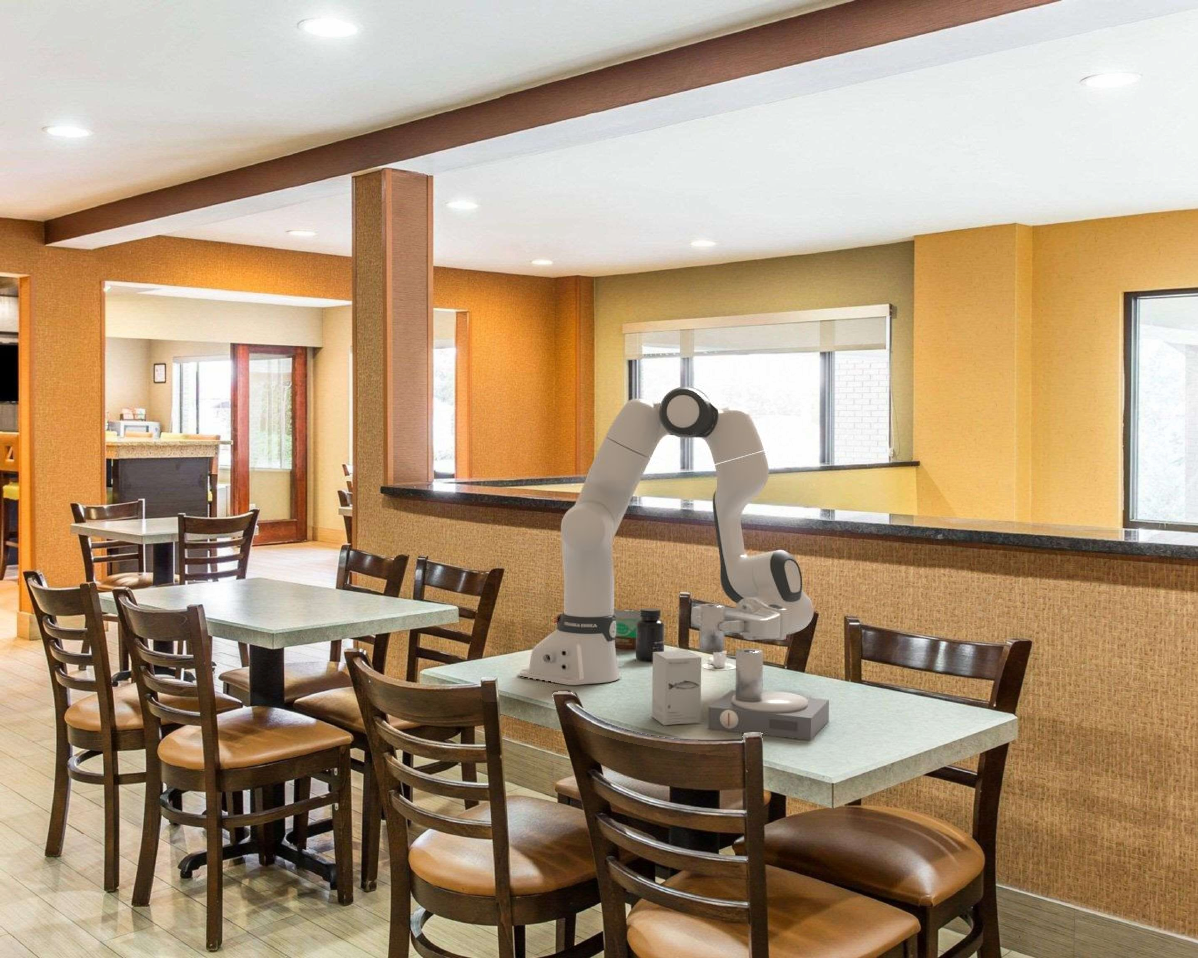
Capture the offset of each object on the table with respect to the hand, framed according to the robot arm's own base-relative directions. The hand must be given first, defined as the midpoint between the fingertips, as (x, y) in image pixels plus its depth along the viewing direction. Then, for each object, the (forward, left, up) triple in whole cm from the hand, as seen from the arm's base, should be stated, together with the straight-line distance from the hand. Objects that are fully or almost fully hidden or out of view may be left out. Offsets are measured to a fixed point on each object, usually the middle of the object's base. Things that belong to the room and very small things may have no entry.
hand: (709, 624), depth 228 cm
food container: (-36, +46, -16) cm, 61 cm away
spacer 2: (+12, -14, -11) cm, 21 cm away
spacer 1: (0, +1, -5) cm, 5 cm away
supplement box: (-1, -16, -16) cm, 23 cm away
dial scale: (+16, -12, -16) cm, 25 cm away
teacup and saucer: (-7, +37, -17) cm, 41 cm away
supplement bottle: (-26, +36, -16) cm, 47 cm away
